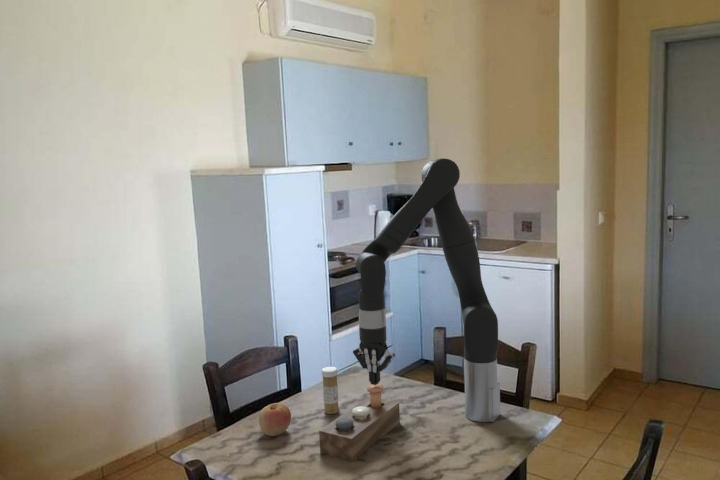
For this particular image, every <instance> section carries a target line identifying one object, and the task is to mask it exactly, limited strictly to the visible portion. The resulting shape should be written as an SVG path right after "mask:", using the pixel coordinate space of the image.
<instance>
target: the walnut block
mask: <svg viewBox="0 0 720 480" xmlns="http://www.w3.org/2000/svg"><path fill="white" fill-rule="evenodd" d="M381 402H382V407H381V408H379V409H376V408H371V407H370V395H369V396H368V397H366V398H364V399H363V400H361V401H360V402H359V403H357V404H356V405H354V406H353V407H352V408H350V409H349V410H347V411H345V412H344V413H343V414H341V415H340V416H338V417H337V418H335V419H334V420H332V421H331V422H330V423H328V424H327V425H325V426H323V428H321V429H319V430H318V435H319V436H318V439H319V453H321V454H324V455H328V456H331V457H334V458H338V459H342V460H345V461H349V462H354V461H355V460H356V459H358V458H359V457H360V456H361V455H362V454H364V453H365V452H366V451H367V450H368V449H370V448H371V447H372V446H373V445H374V444H376V443H377V442H378V441H379V440H381V439H382V438H383V437H384V436H385V435H387V434H388V433H389V432H391V430H393V429H394V428H395V427H396V426H397V425H398V424H400V422H401V419H400V402H398V401H394V400H388V399H383V398H381ZM361 406H363V407H367V408H369V415H367V418H366V419H364V420H360V419H356V418H355V416H353V414H352V410H353V408H355V407H361ZM340 418H351V419H352V420H353V427H351V430H349V431H348V432H343V431H339V428H337V427H336V420H338V419H340Z"/></svg>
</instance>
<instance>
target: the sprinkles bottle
mask: <svg viewBox="0 0 720 480" xmlns="http://www.w3.org/2000/svg"><path fill="white" fill-rule="evenodd" d="M321 376H322V389H323V402H324V403H323V405H324V406H323V407H324V408H323V410H324V413H325V414H328V415H333V414H337V413H339V411H340V408H339V385H338V368H337V367H334V366H326V367H323V368H322V369H321Z"/></svg>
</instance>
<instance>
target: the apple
mask: <svg viewBox="0 0 720 480" xmlns="http://www.w3.org/2000/svg"><path fill="white" fill-rule="evenodd" d="M291 420H292V413H291V409H290V408H289V406H287V405H286V404H284V403H282V402H280V403H279V402H274V403H270V404H268V405H267V406H264V407H263V408H262V409H261V411H260V412H259V416H258V425H259V428H260V431H262V432H263V433H264V434H266V435H267V436H269V437H270V436H271V437H276V436H279V435H282V434H283V433H284V432H285V431H287V429H289V427H290V424H291Z"/></svg>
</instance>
